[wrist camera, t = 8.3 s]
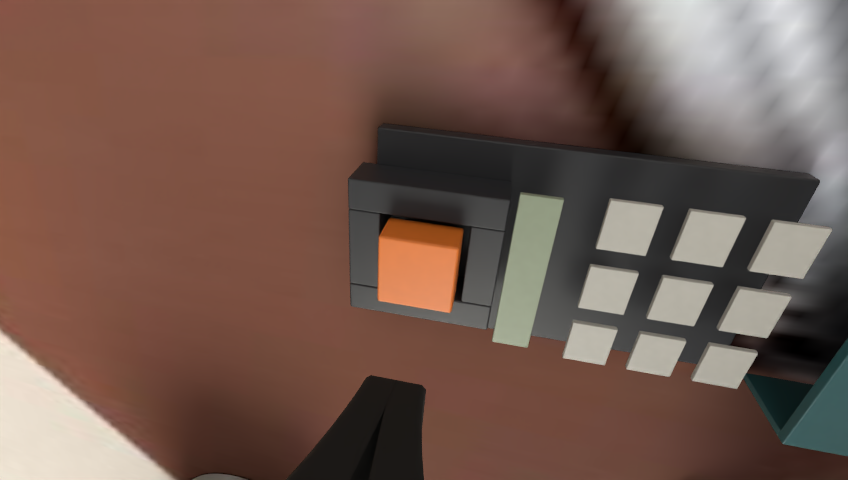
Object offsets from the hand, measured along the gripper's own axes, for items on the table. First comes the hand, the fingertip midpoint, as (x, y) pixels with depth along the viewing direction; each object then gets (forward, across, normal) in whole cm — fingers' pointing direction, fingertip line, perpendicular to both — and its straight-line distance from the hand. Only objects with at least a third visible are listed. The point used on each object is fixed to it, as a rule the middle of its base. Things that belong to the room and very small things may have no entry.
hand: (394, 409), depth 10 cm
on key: (+7, +1, 0) cm, 7 cm away
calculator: (+9, -5, 0) cm, 10 cm away
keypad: (+7, -7, 0) cm, 10 cm away
